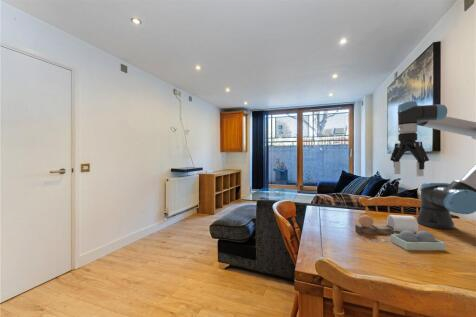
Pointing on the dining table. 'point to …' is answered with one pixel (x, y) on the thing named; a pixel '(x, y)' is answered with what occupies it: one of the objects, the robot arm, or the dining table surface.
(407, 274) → the dining table surface
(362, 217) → the ball terracotta
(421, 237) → the grey ball
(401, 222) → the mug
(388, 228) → the rail
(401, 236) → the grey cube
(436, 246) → the trough
